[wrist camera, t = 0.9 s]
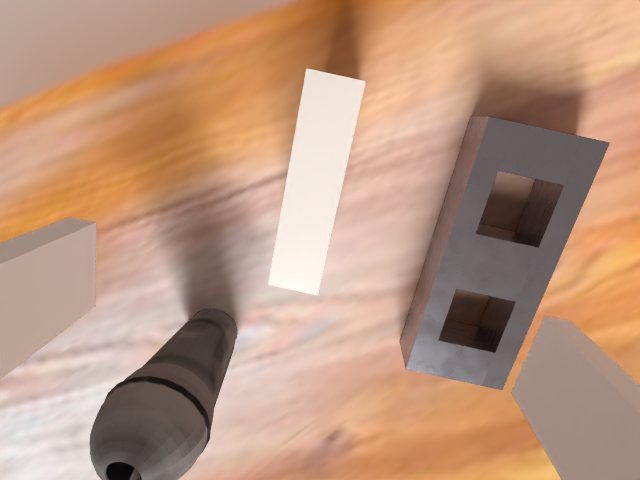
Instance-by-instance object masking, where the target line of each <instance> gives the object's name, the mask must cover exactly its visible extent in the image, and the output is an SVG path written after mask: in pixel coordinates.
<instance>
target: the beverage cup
mask: <svg viewBox="0 0 640 480" xmlns="http://www.w3.org/2000/svg"><path fill="white" fill-rule="evenodd" d="M236 338H237V328H236V324H235V323H234V321H233V319H232V318H231V317H230V316H229V315H227V314H226V313H224V312H222V311H220V310H216V309H204V310H202V311H200V312H198V313H197V314H196V315H195V316H194V317H193V318H192V319H190V320H189V321H188V322H187V323H186V324H185V325H184V326H183V327H182V328H181V329H180V330H179V331H178V332H177V333H176V334H175V335H174V336H173V337H172V338H171V339H170V340H169V341H168V342H167V343H166V344H165V345H164V346H163V347H162V348H161V349H160V350H159V351H158V352H157V353H156V354H155V355H154V356H153V357H152V358H151V359H150V360H149V361H148V362H147V363H146V364H145V365H144V366H143V367H142V368H140V369H138V370H136V371H135V372H134V373H133V374H131V375H130V376H129V377H127V378H126V379H125V380H124V381H123V382H120V383H118V384H117V385H116V386H115V387H114V388H113V389H112V390H111V391H110V392H109V393H108V395H107V397H106V399H105V401H104V403H103V405H102V406H101V408H100V410H99V412H98V414H97V417H96V419H95V422H94V424H93V427H92V430H91V435H90V455H91V461H92V463H93V465H94V468H95V470H96V472H97V475H98V476H99V477H100V478H101V479H102V480H178V479H179V478H180V477H182V476H183V475H184V474H185V473H186V472H187V471H188V470H189V469H190V468H191V467H192V465H193V464H194V463H195V461H196V460H197V458H198V456H199V455H200V454H201V453H202V452H203V451H204V449H205V447H206V445H207V443H208V441H209V440H210V430H211V425H212V420H213V413H214V407H215V404H216V401H217V398H218V395H219V392H220V389H221V386H222V383H223V380H224V377H225V374H226V371H227V368H228V365H229V362H230V359H231V356H232V353H233V350H234V344H235V340H236Z"/></svg>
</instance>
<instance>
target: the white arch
mask: <svg viewBox="0 0 640 480" xmlns="http://www.w3.org/2000/svg"><path fill="white" fill-rule="evenodd" d="M365 83H366V81H363V80H358V79H353V78H349V77H344V76H340V75H335V74H330V73H326V72H321V71H316V70H312V69H307V68H306V73H305V79H304V85H303V90H302V96H301V102H300V107H299V113H298V118H297V124H296V130H295V135H294V141H293V147H292V152H291V158H290V163H289V169H288V175H287V180H286V186H285V192H284V197H283V203H282V209H281V214H280V220H279V225H278V231H277V237H276V242H275V248H274V254H273V259H272V265H271V270H270V276H269V282H268V285H272V286H276V287H281V288H285V289H290V290H295V291H299V292H304V293H308V294H313V295H318V291H319V287H320V282H321V278H322V273H323V269H324V264H325V260H326V255H327V251H328V247H329V242H330V238H331V233H332V229H333V224H334V220H335V216H336V211H337V207H338V202H339V198H340V193H341V189H342V185H343V180H344V176H345V171H346V167H347V162H348V158H349V153H350V149H351V145H352V140H353V136H354V131H355V127H356V122H357V118H358V114H359V109H360V105H361V100H362V96H363V91H364V87H365Z"/></svg>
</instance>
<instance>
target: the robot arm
mask: <svg viewBox="0 0 640 480" xmlns="http://www.w3.org/2000/svg"><path fill="white" fill-rule="evenodd" d="M95 306H96V222H92V221H87V220H82V219H77V218H72V217H69V218H67V219H64V220H61V221H59V222H56V223H53V224H51V225H48V226H45V227H43V228H40V229H37V230H35V231H32V232H29V233H26V234H24V235H21V236H18V237H16V238H13V239H10V240H8V241H5V242H2V243H0V379H1V378H3V377H4V376H5V375H7V374H8V373H9V372H11V371H12V370H13V369H14V368H16V367H17V366H18V365H20V364H21V363H22V362H24V361H25V360H26V359H28V358H29V357H30V356H31V355H33V354H34V353H35V352H37V351H38V350H39V349H41V348H42V347H43V346H45V345H46V344H47V343H48V342H50V341H51V340H52V339H54V338H55V337H56V336H58V335H59V334H60V333H62V332H63V331H64V330H65V329H67V328H68V327H69V326H71V325H72V324H73V323H75V322H76V321H77V320H78V319H80V318H81V317H82V316H84V315H85V314H86V313H88V312H89V311H90V310H92V309H93V308H94V307H95ZM511 394H512V395H513V397H514V399H515V400H516V402H517V404H518V406H519V407H520V409H521V411H522V412H523V414H524V416H525V418H526V419H527V421H528V423H529V424H530V426H531V428H532V430H533V431H534V433H535V435H536V436H537V438H538V440H539V442H540V443H541V445H542V447H543V448H544V450H545V452H546V454H547V455H548V457H549V459H550V460H551V462H552V464H553V466H554V467H555V469H556V471H557V472H558V474H559V476H560V478H561V479H562V480H640V385H639V384H638V383H637V382H636V381H635V380H634V379H633V378H632V377H631V376H630V375H628V374H627V373H626V372H625V371H624V370H623V369H622V368H621V367H620V366H619V365H618V364H617V363H616V362H615V361H613V360H612V359H611V358H610V357H609V356H608V355H607V354H606V353H605V352H604V351H603V350H602V349H601V348H600V347H598V346H597V345H596V344H595V343H594V342H593V341H592V340H591V339H590V338H589V337H588V336H587V335H586V334H584V333H583V332H582V331H581V330H580V329H579V328H578V327H577V326H576V325H575V324H574V323H573V322H572V321H569V320H564V319H560V318H555V317H550V316H544V318H543V320H542V323H541V325H540V327H539V329H538V332H537V334H536V336H535V339H534V341H533V343H532V346H531V348H530V350H529V353H528V355H527V357H526V360H525V362H524V364H523V366H522V369H521V371H520V373H519V376H518V378H517V380H516V383H515V385H514V387H513V390H512V392H511Z"/></svg>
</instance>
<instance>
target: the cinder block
mask: <svg viewBox="0 0 640 480" xmlns="http://www.w3.org/2000/svg"><path fill="white" fill-rule="evenodd" d="M609 144H610V143H609V142H604V141H600V140H595V139H591V138H586V137H581V136H577V135H572V134H567V133H563V132H558V131H554V130H549V129H544V128H540V127H535V126H531V125H526V124H521V123H517V122H512V121H507V120H503V119H498V118H494V117H485V116H471V117H470V121H469V124H468V127H467V130H466V133H465V136H464V140H463V143H462V146H461V149H460V152H459V155H458V159H457V162H456V165H455V168H454V171H453V174H452V178H451V181H450V184H449V187H448V190H447V193H446V197H445V200H444V203H443V206H442V209H441V213H440V216H439V219H438V222H437V225H436V228H435V232H434V235H433V238H432V241H431V244H430V247H429V251H428V254H427V257H426V260H425V263H424V266H423V270H422V273H421V276H420V279H419V282H418V285H417V289H416V292H415V295H414V298H413V301H412V304H411V308H410V311H409V314H408V317H407V320H406V323H405V327H404V330H403V333H402V336H401V339H400V345H401V350H402V354H403V359H404V363H405V367H406V369H407V370H411V371H416V372H421V373H425V374H430V375H434V376H439V377H444V378H448V379H453V380H457V381H462V382H467V383H471V384H476V385H480V386H485V387H490V388H494V389H499V390H502V389H503V387H504V385H505V382H506V380H507V378H508V375H509V373H510V371H511V369H512V366H513V364H514V362H515V359H516V357H517V355H518V352H519V350H520V348H521V346H522V343H523V341H524V339H525V336H526V334H527V332H528V330H529V327H530V325H531V323H532V320H533V318H534V316H535V313H536V311H537V309H538V307H539V304H540V302H541V300H542V297H543V295H544V293H545V291H546V288H547V286H548V284H549V281H550V279H551V277H552V274H553V272H554V270H555V268H556V265H557V263H558V261H559V258H560V256H561V254H562V251H563V249H564V247H565V245H566V242H567V240H568V238H569V235H570V233H571V231H572V229H573V226H574V224H575V222H576V219H577V217H578V215H579V212H580V210H581V208H582V206H583V203H584V201H585V199H586V196H587V194H588V192H589V189H590V187H591V185H592V183H593V180H594V178H595V176H596V173H597V171H598V169H599V167H600V164H601V162H602V160H603V157H604V155H605V153H606V150H607V148H608V146H609ZM498 171H502V172H507V173H511V174H516V175H521V176H525V177H530V178H534V179H536V180H535V183H534V185H533V188H532V190H531V193H530V196H529V198H528V201H527V203H526V206H525V209H524V211H523V214H522V216H521V219H520V221H519V224H518V227H517V229H516V231H511V230H507V229H502V228H497V227H493V226H488V225H483V224H479V223H480V220H481V217H482V214H483V212H484V209H485V206H486V203H487V200H488V197H489V195H490V192H491V189H492V186H493V183H494V180H495V177H496V175H497V172H498ZM456 289H460V290H465V291H469V292H474V293H478V294H483V295H488V296H490V299H489V302H488V304H487V307H486V309H485V312H484V315H483V317H482V320H481V322H480V325H479V326H475V325H470V324H465V323H461V322H456V321H452V320H447V319H446V317H447V314H448V311H449V308H450V305H451V302H452V300H453V297H454V294H455V291H456Z"/></svg>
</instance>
